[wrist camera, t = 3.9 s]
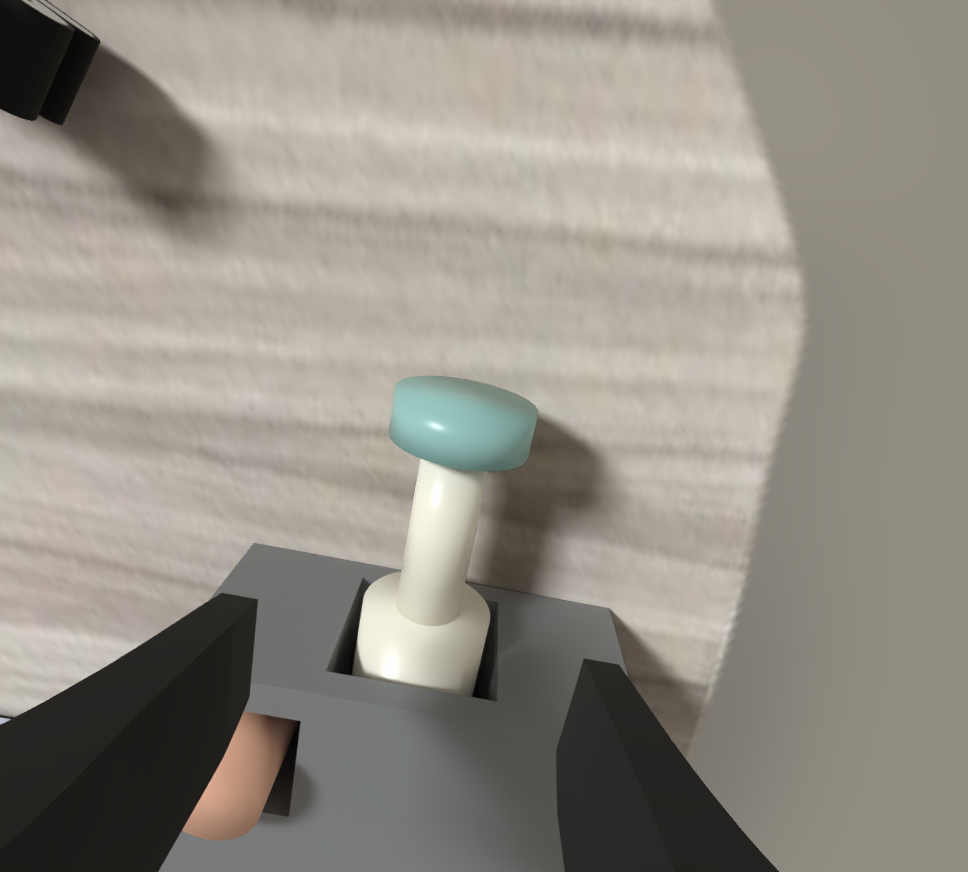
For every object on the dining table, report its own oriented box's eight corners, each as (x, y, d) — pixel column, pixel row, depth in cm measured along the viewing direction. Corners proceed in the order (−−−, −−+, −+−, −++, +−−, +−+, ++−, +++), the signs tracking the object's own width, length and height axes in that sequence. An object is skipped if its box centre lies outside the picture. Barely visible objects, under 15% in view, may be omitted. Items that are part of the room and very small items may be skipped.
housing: (555, 786, 23) (572, 966, 18) (238, 731, 23) (151, 897, 17) (609, 608, 21) (649, 752, 15) (253, 543, 20) (158, 666, 15)
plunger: (298, 742, 18) (257, 847, 15) (215, 728, 18) (157, 831, 15) (306, 675, 17) (265, 772, 14) (220, 659, 17) (159, 754, 14)
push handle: (447, 776, 22) (436, 878, 18) (345, 758, 22) (316, 858, 18) (534, 392, 17) (542, 434, 14) (407, 367, 17) (384, 403, 14)
